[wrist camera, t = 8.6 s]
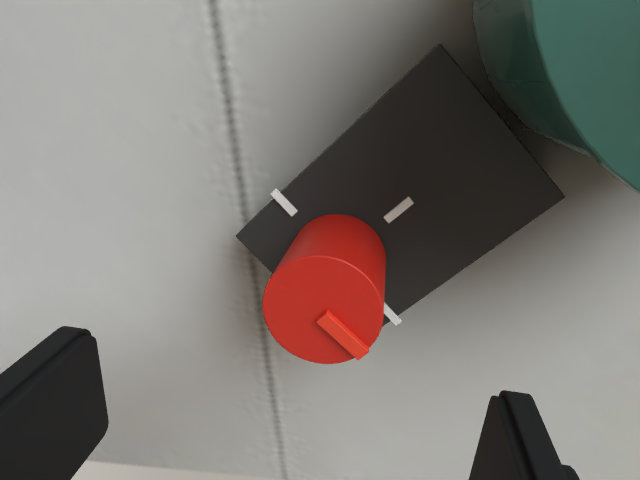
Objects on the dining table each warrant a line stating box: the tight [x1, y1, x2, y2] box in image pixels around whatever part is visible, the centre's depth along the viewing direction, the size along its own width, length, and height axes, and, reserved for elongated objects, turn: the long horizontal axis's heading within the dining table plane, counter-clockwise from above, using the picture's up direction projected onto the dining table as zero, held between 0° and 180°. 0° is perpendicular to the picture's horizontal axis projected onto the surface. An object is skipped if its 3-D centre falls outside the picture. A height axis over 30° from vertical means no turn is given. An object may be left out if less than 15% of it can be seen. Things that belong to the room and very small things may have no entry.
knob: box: [262, 214, 386, 364], centre depth 18 cm, size 4×4×5 cm
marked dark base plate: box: [236, 44, 565, 326], centre depth 21 cm, size 13×9×3 cm, turn 133°
